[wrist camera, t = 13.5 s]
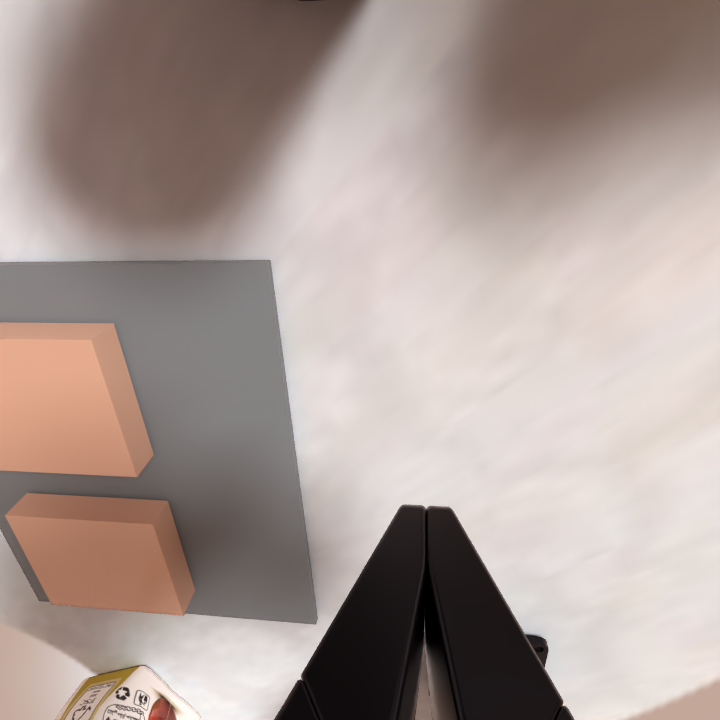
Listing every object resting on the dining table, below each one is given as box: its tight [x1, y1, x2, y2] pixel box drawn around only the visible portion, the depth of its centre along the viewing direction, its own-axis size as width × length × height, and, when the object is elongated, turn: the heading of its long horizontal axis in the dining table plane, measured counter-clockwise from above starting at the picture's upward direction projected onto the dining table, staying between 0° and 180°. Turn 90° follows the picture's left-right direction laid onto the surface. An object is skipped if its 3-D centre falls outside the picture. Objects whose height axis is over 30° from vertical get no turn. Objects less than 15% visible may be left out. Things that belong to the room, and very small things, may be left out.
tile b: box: [0, 322, 154, 477], centre depth 22 cm, size 7×2×8 cm
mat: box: [0, 260, 317, 624], centre depth 25 cm, size 22×18×1 cm
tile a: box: [5, 493, 195, 616], centre depth 27 cm, size 7×2×8 cm
